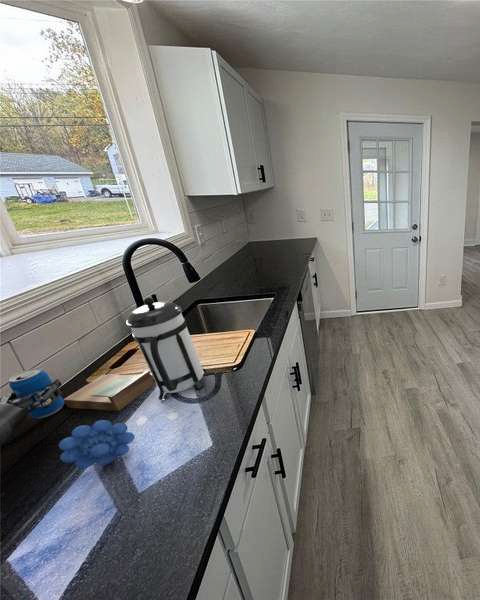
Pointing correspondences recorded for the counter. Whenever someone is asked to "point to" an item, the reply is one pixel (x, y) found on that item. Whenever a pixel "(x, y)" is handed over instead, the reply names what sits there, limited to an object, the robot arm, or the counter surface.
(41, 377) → the beverage can
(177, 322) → the coffee press
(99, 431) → the blue lobed cluster
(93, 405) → the shallow wooden tray
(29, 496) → the counter surface
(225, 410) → the counter surface
